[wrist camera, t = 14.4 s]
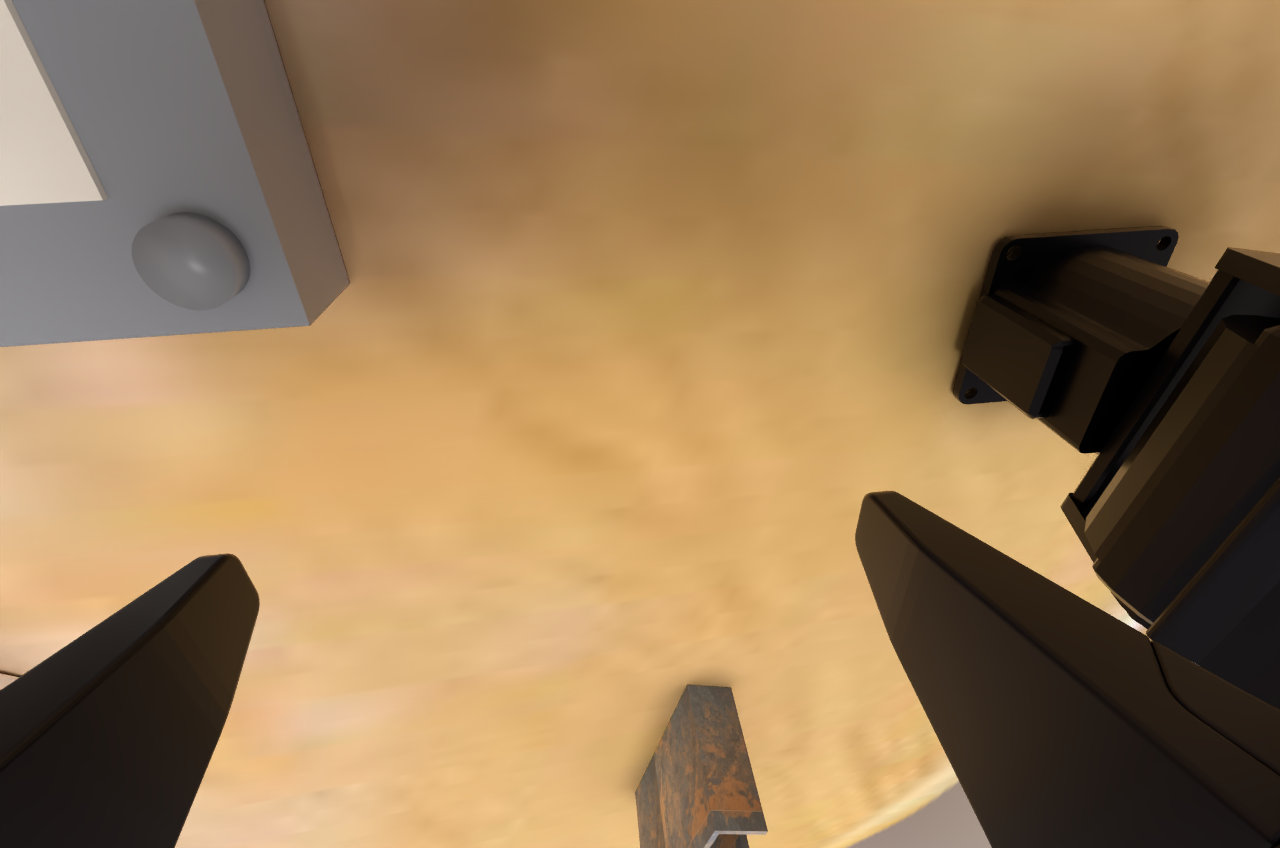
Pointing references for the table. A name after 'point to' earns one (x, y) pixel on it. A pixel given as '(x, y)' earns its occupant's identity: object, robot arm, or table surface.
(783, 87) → the table surface
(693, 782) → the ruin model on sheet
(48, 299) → the base brick
